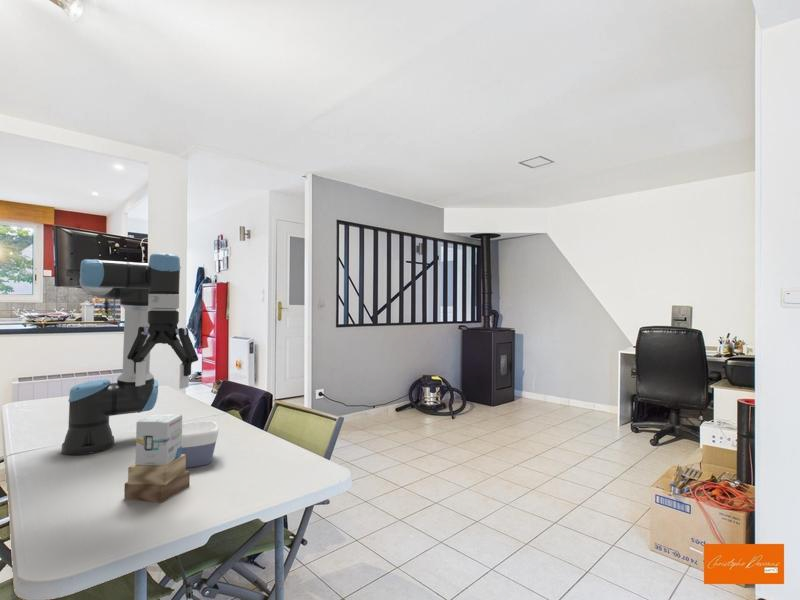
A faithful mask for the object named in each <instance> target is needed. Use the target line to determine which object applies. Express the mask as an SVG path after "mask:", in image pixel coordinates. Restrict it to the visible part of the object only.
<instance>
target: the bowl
mask: <svg viewBox="0 0 800 600" xmlns="http://www.w3.org/2000/svg"><path fill="white" fill-rule="evenodd" d="M219 431H220V427H219V425H218V423H216V422H215V421H213V420H205V421H194V422H185V423H183V422H182V454H186V469H187V468H188V469H189V468H196V467H203V466H205V465H206V466H207V465H208V464H210V463H212V461H213V457H214V452H215V448H216V443H217V439H218V434H219Z"/></svg>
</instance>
